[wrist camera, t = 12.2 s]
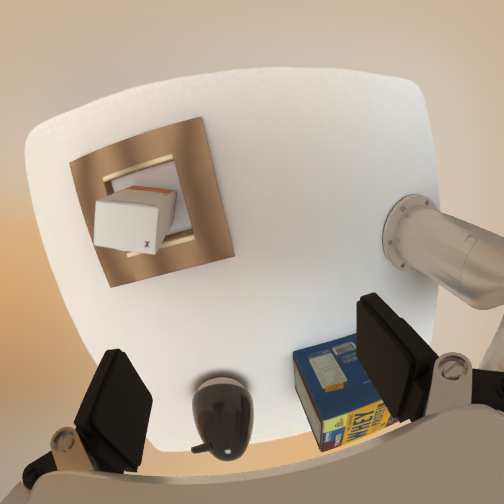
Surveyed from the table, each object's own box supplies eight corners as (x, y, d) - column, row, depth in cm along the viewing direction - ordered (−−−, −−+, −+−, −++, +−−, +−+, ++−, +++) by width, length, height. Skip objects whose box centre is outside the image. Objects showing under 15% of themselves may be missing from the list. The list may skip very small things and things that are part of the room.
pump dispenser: (194, 364, 41) (195, 441, 27) (255, 371, 44) (273, 443, 30) (188, 401, 44) (188, 469, 30) (242, 406, 47) (254, 471, 33)
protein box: (366, 366, 49) (403, 419, 34) (294, 389, 47) (319, 453, 33) (372, 326, 45) (419, 382, 30) (291, 350, 43) (322, 422, 29)
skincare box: (177, 189, 32) (161, 207, 21) (173, 223, 33) (156, 257, 22) (131, 184, 31) (94, 199, 20) (128, 217, 32) (92, 247, 21)
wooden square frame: (202, 119, 30) (201, 116, 27) (233, 249, 36) (235, 256, 33) (77, 161, 28) (68, 162, 26) (115, 279, 35) (110, 288, 32)
